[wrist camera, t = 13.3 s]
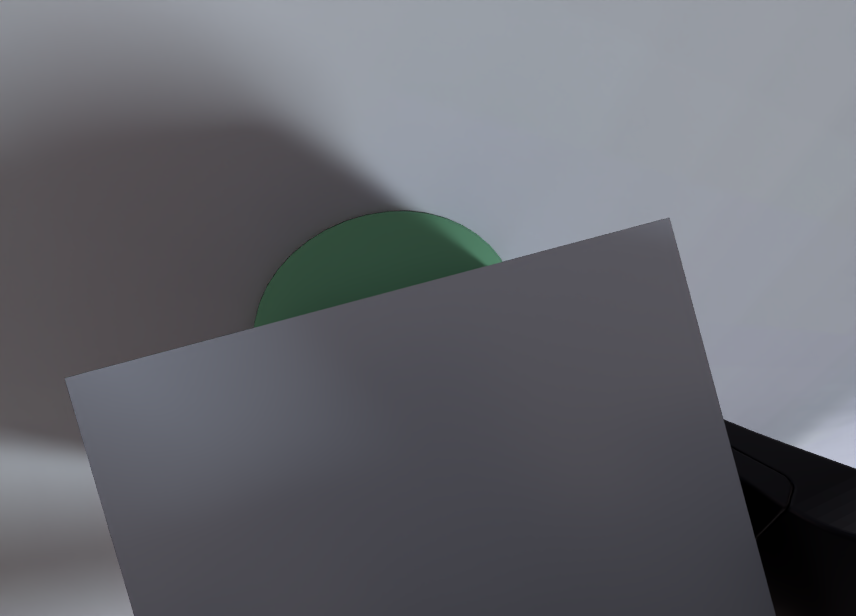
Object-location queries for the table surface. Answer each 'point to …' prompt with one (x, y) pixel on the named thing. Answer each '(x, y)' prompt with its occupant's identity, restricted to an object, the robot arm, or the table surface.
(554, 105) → the table surface
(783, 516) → the robot arm
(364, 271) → the disc
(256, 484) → the grey block
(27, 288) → the table surface
